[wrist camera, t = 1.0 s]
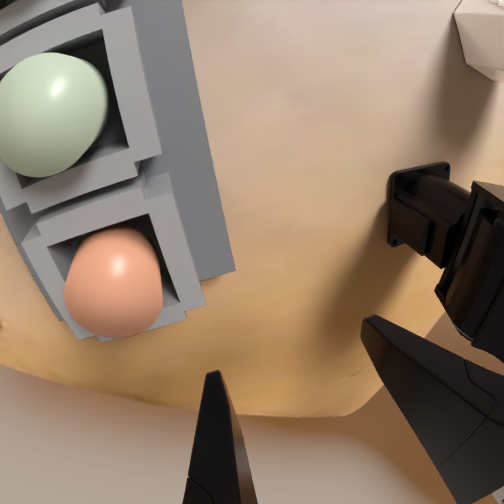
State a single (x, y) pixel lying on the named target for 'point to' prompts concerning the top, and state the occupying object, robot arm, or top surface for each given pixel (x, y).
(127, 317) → the terracotta button
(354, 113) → the top surface
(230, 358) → the top surface
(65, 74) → the sage button
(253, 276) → the top surface
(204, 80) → the top surface
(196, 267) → the button panel
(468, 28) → the jar
